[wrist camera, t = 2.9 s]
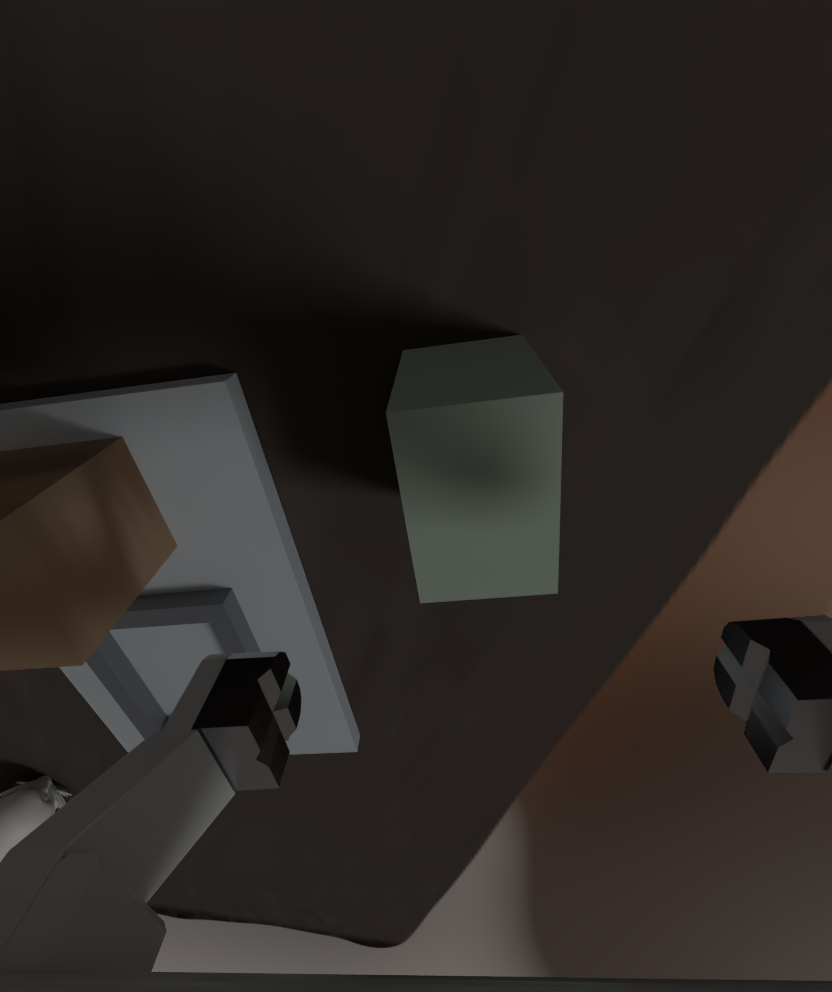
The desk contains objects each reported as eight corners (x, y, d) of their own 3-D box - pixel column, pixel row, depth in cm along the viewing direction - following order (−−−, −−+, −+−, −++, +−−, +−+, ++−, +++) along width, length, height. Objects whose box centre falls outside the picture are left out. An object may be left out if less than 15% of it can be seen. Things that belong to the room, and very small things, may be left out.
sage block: (403, 349, 16) (385, 412, 11) (521, 334, 15) (563, 391, 10) (425, 498, 19) (420, 603, 14) (524, 489, 18) (557, 593, 13)
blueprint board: (-107, 417, 18) (-385, 518, 12) (236, 372, 16) (118, 461, 10) (143, 744, 29) (66, 881, 23) (359, 735, 27) (338, 879, 21)
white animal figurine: (-111, 986, 28) (-126, 896, 23) (1, 834, 36) (8, 742, 31) (-2, 1004, 29) (6, 920, 25) (85, 852, 37) (104, 766, 32)
